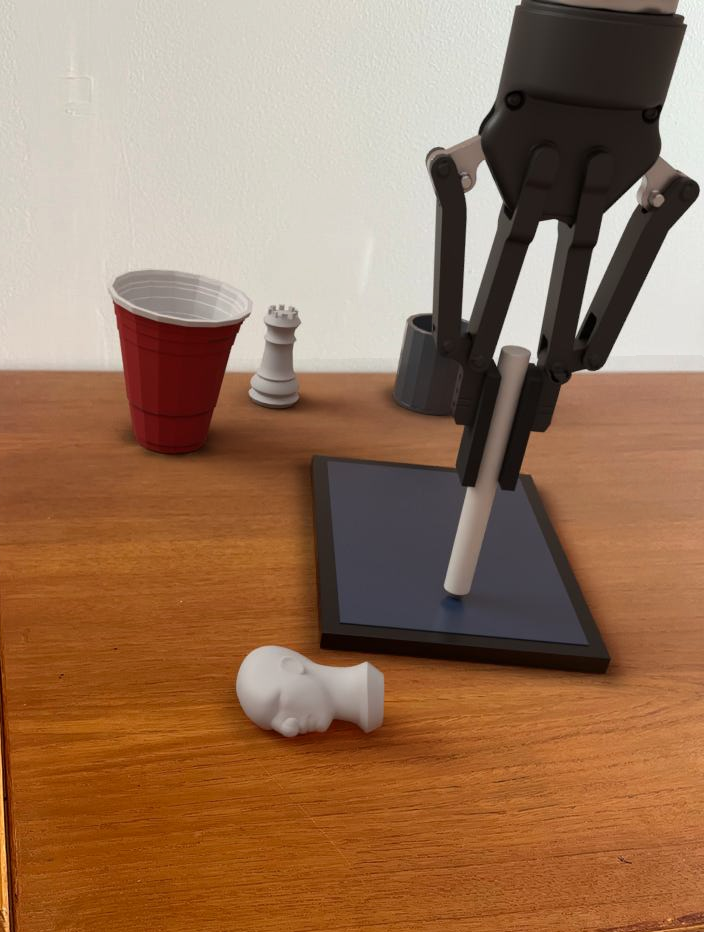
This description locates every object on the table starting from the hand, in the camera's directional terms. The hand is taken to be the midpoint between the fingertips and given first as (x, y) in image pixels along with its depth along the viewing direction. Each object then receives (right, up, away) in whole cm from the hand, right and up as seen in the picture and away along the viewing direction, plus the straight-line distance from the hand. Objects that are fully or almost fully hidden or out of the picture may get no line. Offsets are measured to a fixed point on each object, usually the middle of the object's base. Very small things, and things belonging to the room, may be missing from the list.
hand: (484, 477), depth 59 cm
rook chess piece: (-11, +12, +31) cm, 35 cm away
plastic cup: (-19, +7, +23) cm, 31 cm away
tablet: (0, -4, +11) cm, 12 cm away
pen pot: (+3, +12, +34) cm, 36 cm away
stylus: (-1, -7, +5) cm, 8 cm away
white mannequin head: (-11, -14, -4) cm, 18 cm away
